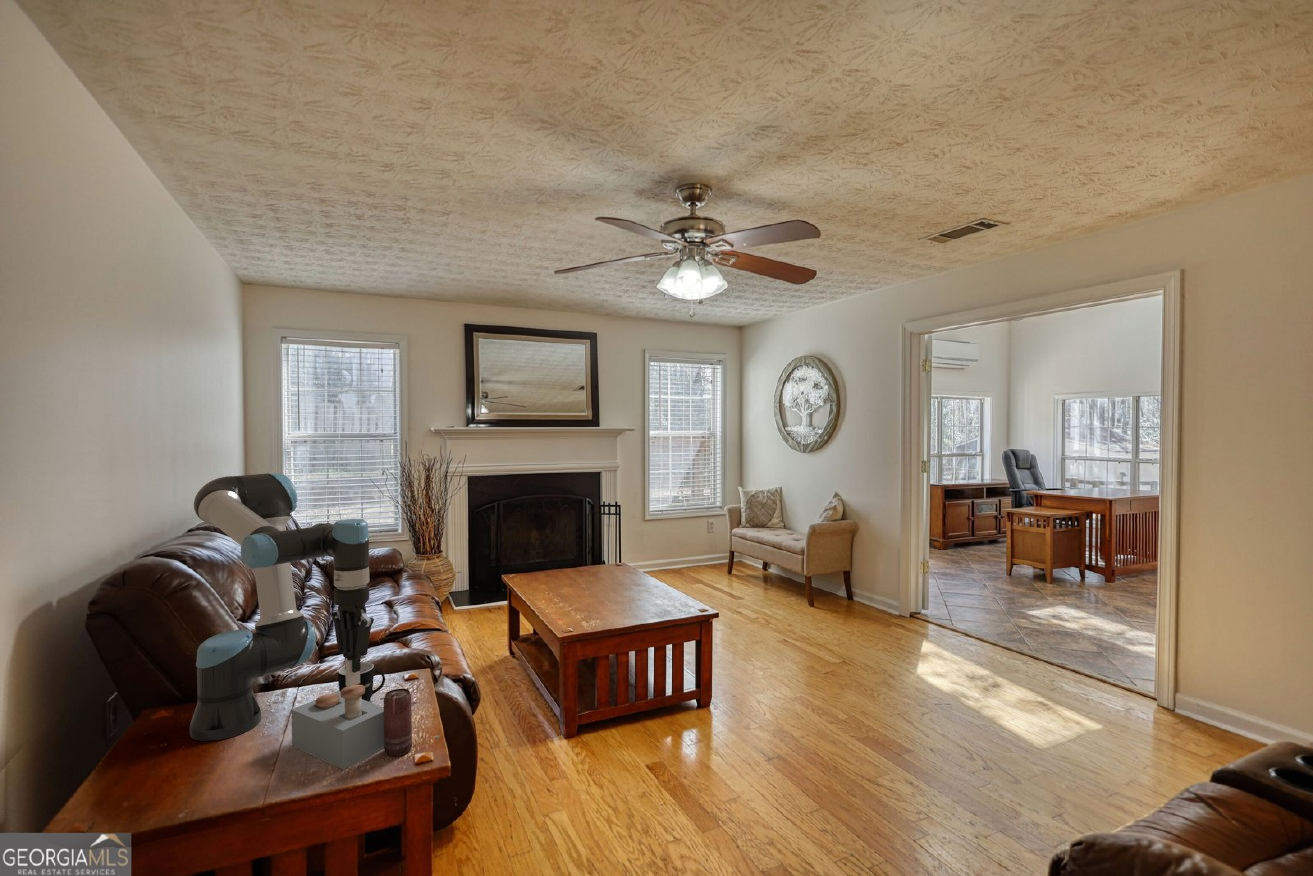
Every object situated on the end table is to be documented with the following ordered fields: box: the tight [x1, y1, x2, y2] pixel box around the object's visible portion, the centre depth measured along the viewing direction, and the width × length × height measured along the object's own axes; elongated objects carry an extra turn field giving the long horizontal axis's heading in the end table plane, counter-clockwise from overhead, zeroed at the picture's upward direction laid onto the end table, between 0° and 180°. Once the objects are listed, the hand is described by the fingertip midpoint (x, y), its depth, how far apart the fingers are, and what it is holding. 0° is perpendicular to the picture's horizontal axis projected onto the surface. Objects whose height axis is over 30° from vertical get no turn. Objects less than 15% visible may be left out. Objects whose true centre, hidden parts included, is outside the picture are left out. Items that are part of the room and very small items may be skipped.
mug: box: [337, 661, 386, 702], centre depth 174 cm, size 12×9×10 cm
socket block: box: [291, 690, 384, 770], centre depth 151 cm, size 20×12×9 cm, turn 60°
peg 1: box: [315, 693, 340, 710], centre depth 153 cm, size 5×5×10 cm
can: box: [383, 688, 413, 758], centre depth 149 cm, size 6×6×14 cm
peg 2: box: [341, 685, 365, 721], centre depth 148 cm, size 5×5×10 cm
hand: (352, 684), depth 148 cm, fingers closed
